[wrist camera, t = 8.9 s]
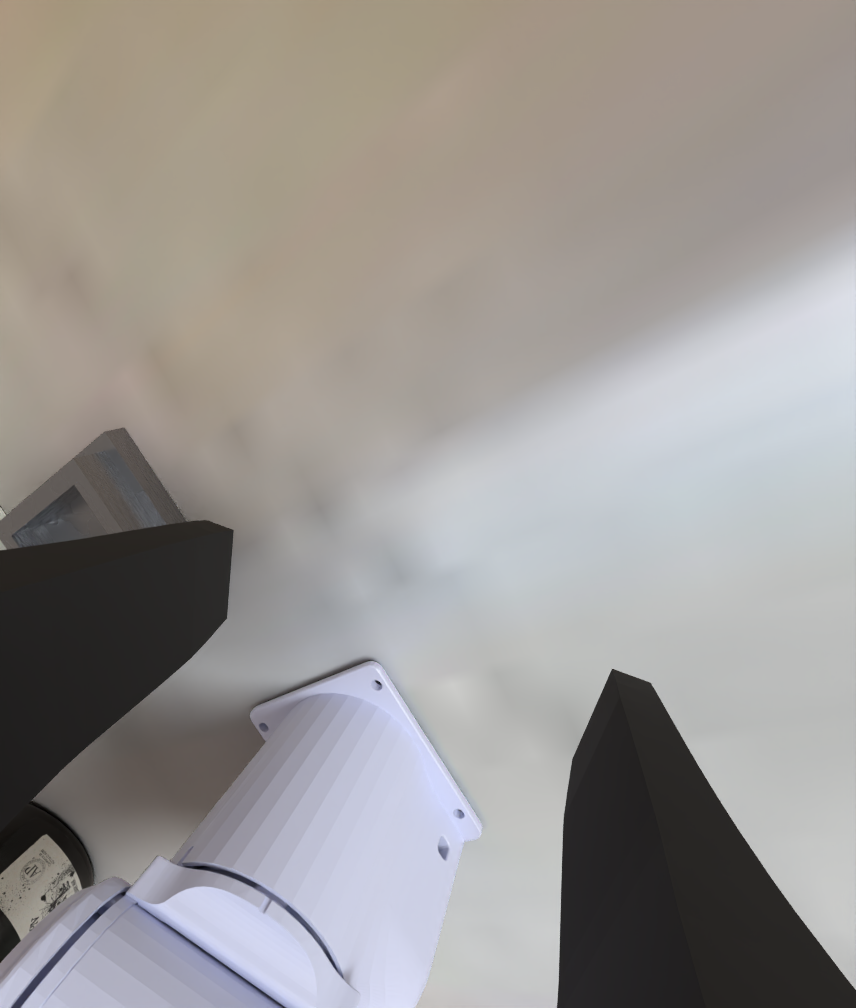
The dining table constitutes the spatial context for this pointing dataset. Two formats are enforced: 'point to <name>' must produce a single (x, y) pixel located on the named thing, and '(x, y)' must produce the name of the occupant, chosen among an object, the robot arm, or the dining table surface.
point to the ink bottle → (36, 872)
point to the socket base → (92, 497)
